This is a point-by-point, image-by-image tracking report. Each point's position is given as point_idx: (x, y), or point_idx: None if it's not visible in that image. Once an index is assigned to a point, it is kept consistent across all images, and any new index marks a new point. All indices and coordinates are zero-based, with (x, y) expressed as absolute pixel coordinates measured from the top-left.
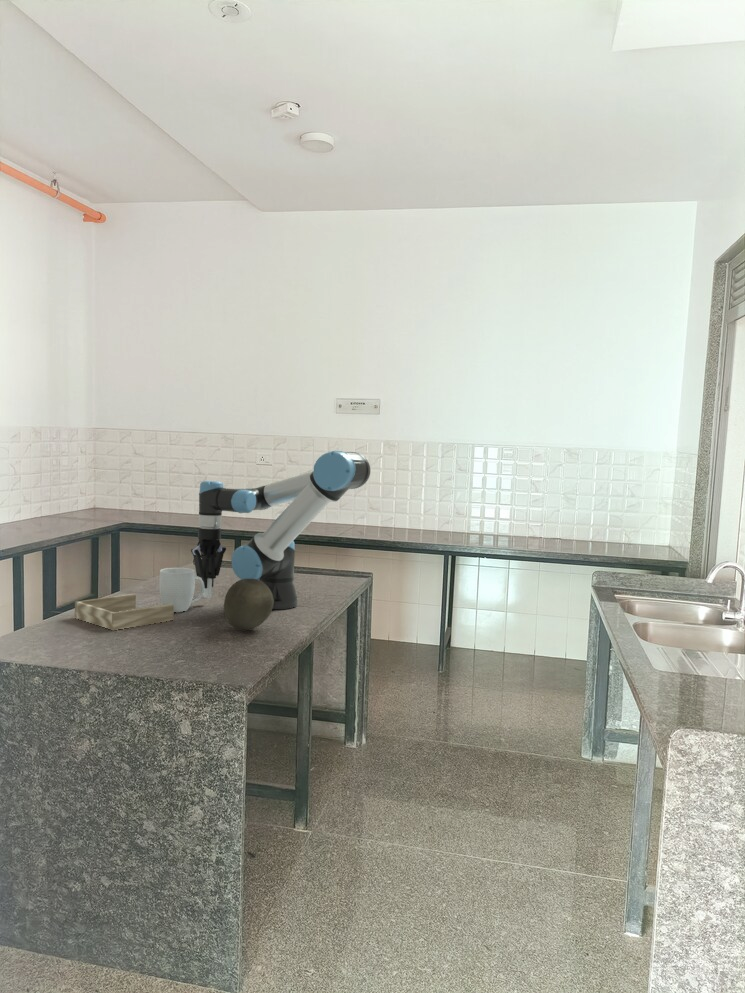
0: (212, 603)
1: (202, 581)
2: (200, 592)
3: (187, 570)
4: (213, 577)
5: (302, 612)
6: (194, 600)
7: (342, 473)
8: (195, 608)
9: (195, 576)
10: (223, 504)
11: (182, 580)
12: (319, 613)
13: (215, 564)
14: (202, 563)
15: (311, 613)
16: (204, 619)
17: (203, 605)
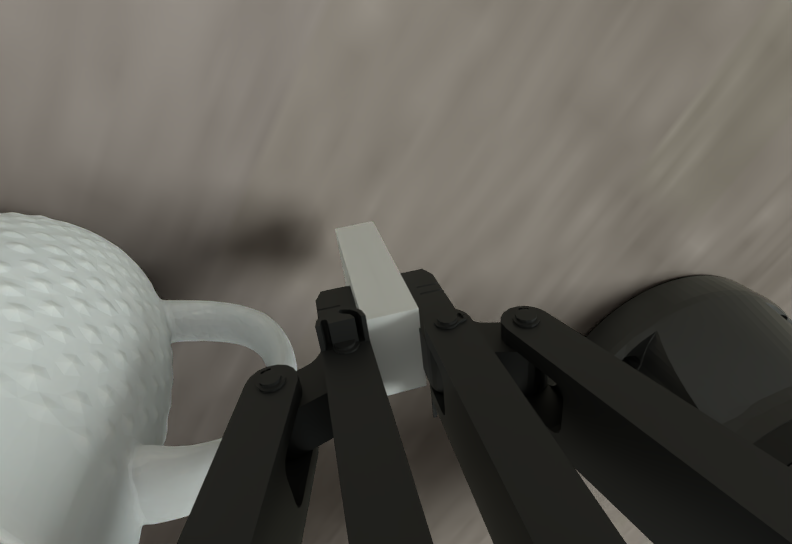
0: (416, 195)
1: None
2: (263, 355)
3: (19, 517)
4: (435, 412)
5: (617, 513)
6: (203, 339)
7: None
8: (229, 291)
9: (171, 500)
10: None
11: None
12: (645, 536)
13: (603, 440)
14: (350, 541)
15: (626, 531)
16: (172, 530)
17: (325, 227)
